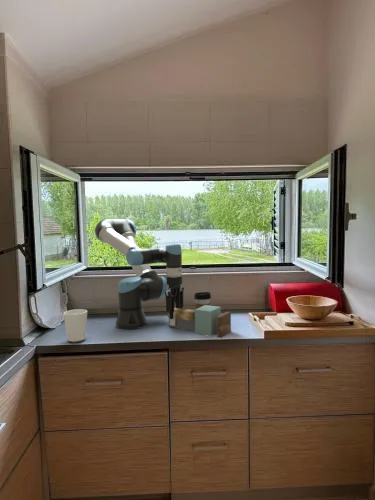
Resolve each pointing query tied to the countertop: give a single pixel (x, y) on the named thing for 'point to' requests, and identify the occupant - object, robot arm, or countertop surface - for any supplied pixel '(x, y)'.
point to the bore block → (206, 320)
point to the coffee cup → (202, 299)
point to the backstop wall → (223, 324)
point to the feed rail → (183, 324)
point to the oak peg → (184, 314)
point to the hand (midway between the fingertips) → (175, 323)
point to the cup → (76, 325)
